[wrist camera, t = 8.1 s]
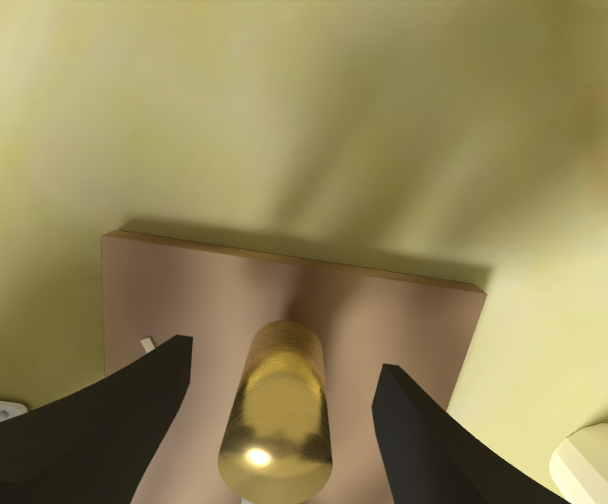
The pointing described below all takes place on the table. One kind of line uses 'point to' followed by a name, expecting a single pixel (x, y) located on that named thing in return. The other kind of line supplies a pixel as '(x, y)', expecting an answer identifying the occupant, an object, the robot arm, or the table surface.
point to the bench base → (254, 315)
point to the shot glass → (583, 466)
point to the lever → (279, 419)
